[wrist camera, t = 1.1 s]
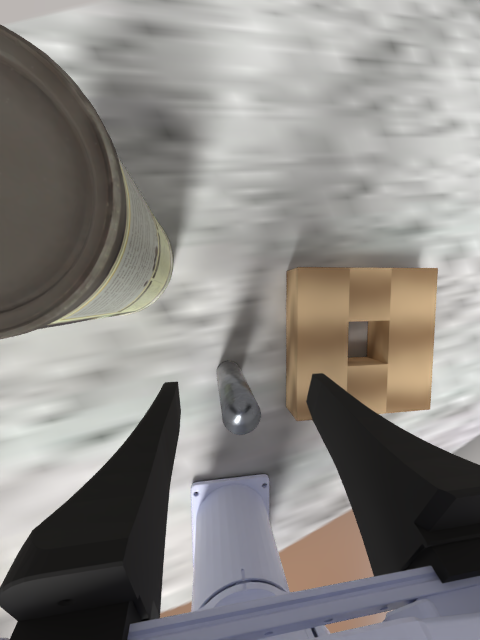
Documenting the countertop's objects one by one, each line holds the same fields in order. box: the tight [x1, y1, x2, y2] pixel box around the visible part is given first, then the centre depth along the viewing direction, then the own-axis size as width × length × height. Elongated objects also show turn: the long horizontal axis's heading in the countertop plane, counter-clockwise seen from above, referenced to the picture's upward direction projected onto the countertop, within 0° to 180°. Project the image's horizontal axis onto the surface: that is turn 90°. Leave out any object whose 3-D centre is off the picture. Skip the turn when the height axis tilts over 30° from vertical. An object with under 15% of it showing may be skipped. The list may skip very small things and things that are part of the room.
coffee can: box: [0, 25, 173, 339], centre depth 14 cm, size 10×10×14 cm
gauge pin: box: [217, 361, 261, 435], centre depth 19 cm, size 2×2×9 cm
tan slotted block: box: [286, 267, 438, 421], centre depth 24 cm, size 14×14×3 cm
